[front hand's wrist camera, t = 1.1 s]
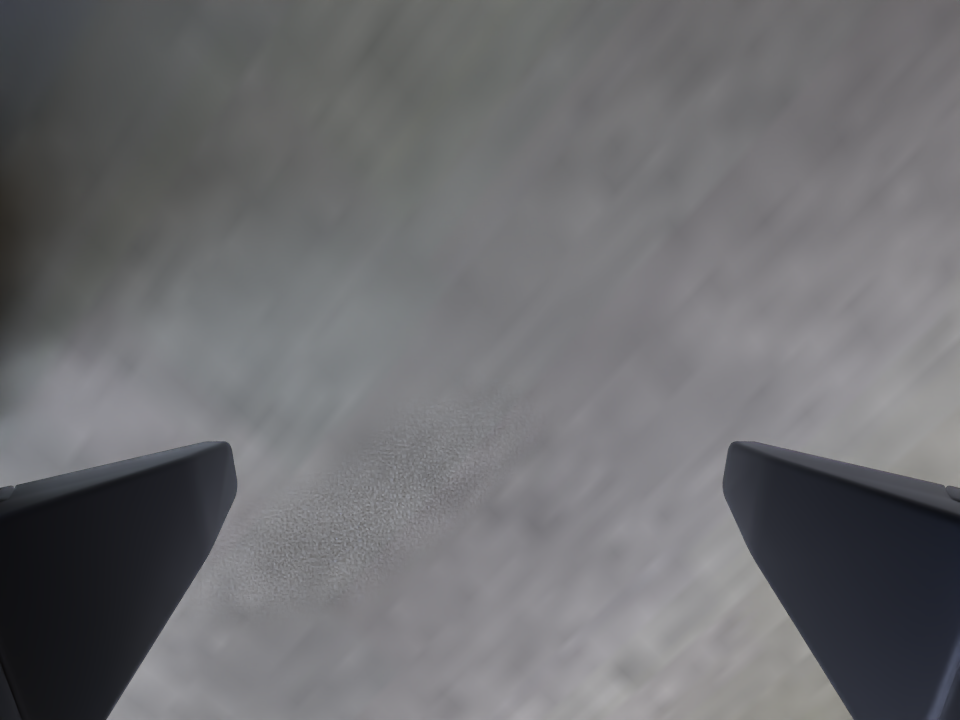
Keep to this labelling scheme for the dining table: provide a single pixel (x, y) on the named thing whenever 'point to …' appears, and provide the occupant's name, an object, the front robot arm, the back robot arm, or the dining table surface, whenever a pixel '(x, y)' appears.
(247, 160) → the dining table surface
